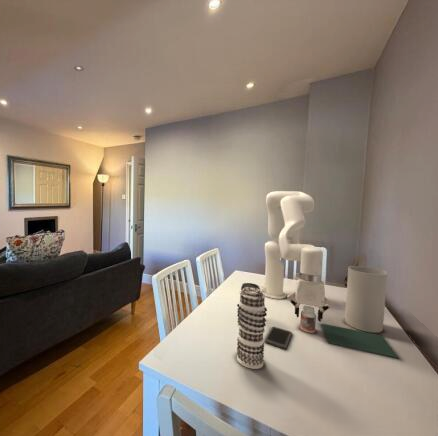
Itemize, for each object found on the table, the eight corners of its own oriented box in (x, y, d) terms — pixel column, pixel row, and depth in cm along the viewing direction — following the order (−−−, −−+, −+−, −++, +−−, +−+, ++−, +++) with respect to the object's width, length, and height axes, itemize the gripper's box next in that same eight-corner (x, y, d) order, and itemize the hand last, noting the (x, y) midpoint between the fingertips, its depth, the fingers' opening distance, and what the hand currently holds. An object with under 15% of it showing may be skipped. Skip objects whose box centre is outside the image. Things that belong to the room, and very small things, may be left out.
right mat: (328, 343, 94) (328, 342, 94) (321, 324, 108) (321, 323, 108) (398, 358, 85) (399, 357, 85) (381, 336, 99) (381, 335, 99)
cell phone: (264, 342, 94) (264, 340, 94) (272, 327, 105) (272, 325, 105) (285, 349, 90) (285, 347, 90) (292, 333, 101) (292, 331, 101)
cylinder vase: (375, 322, 110) (379, 268, 108) (388, 336, 99) (393, 276, 97) (341, 316, 115) (344, 264, 114) (349, 329, 104) (353, 272, 102)
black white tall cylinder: (262, 373, 78) (266, 297, 76) (232, 363, 83) (235, 291, 81) (266, 357, 85) (269, 288, 83) (238, 349, 90) (240, 283, 88)
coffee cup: (258, 314, 118) (259, 283, 117) (260, 322, 110) (261, 289, 109) (239, 311, 121) (240, 281, 120) (240, 319, 113) (241, 287, 112)
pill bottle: (299, 329, 104) (300, 307, 103) (301, 325, 108) (302, 303, 107) (314, 334, 100) (315, 311, 99) (315, 329, 104) (317, 307, 104)
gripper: (287, 276, 103) (285, 317, 104) (338, 283, 95) (335, 327, 96) (286, 271, 110) (284, 310, 111) (334, 277, 102) (331, 319, 103)
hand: (308, 317), depth 104 cm, fingers open, 7 cm apart
